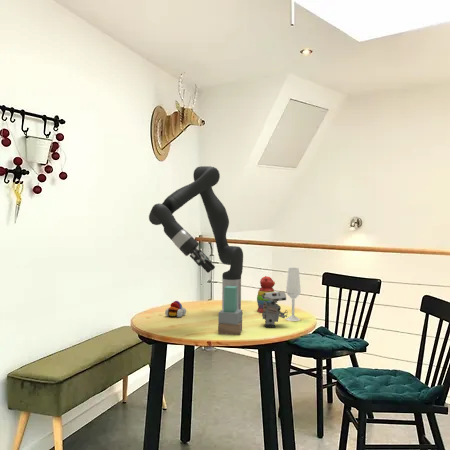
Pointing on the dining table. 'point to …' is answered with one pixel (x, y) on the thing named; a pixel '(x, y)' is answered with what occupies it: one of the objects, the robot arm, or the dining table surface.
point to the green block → (230, 299)
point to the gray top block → (230, 317)
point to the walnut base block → (230, 329)
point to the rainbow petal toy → (175, 310)
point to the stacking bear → (265, 288)
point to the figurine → (273, 308)
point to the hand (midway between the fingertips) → (211, 270)
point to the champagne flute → (293, 289)
